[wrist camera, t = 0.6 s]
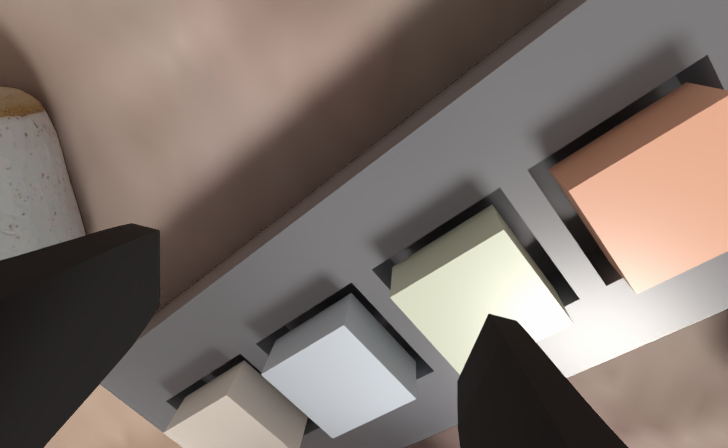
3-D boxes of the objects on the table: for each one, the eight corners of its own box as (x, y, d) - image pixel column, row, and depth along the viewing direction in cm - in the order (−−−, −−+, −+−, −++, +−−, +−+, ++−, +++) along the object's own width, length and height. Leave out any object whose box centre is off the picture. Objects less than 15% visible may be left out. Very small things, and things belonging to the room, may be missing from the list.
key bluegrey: (415, 361, 18) (416, 399, 16) (340, 400, 19) (332, 438, 18) (351, 292, 17) (344, 325, 15) (275, 340, 18) (260, 374, 16)
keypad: (802, 205, 16) (883, 242, 13) (278, 458, 26) (262, 508, 23) (670, -86, 12) (742, -118, 10) (128, 334, 22) (89, 376, 20)
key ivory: (308, 416, 20) (297, 455, 18) (247, 447, 22) (233, 485, 20) (244, 360, 19) (226, 395, 17) (185, 397, 20) (163, 432, 19)
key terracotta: (742, 193, 13) (794, 219, 11) (609, 261, 15) (636, 294, 13) (686, 82, 12) (734, 91, 10) (547, 169, 14) (568, 190, 12)
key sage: (555, 289, 15) (574, 324, 14) (456, 340, 17) (462, 377, 15) (492, 204, 14) (503, 229, 12) (392, 266, 16) (389, 297, 14)
